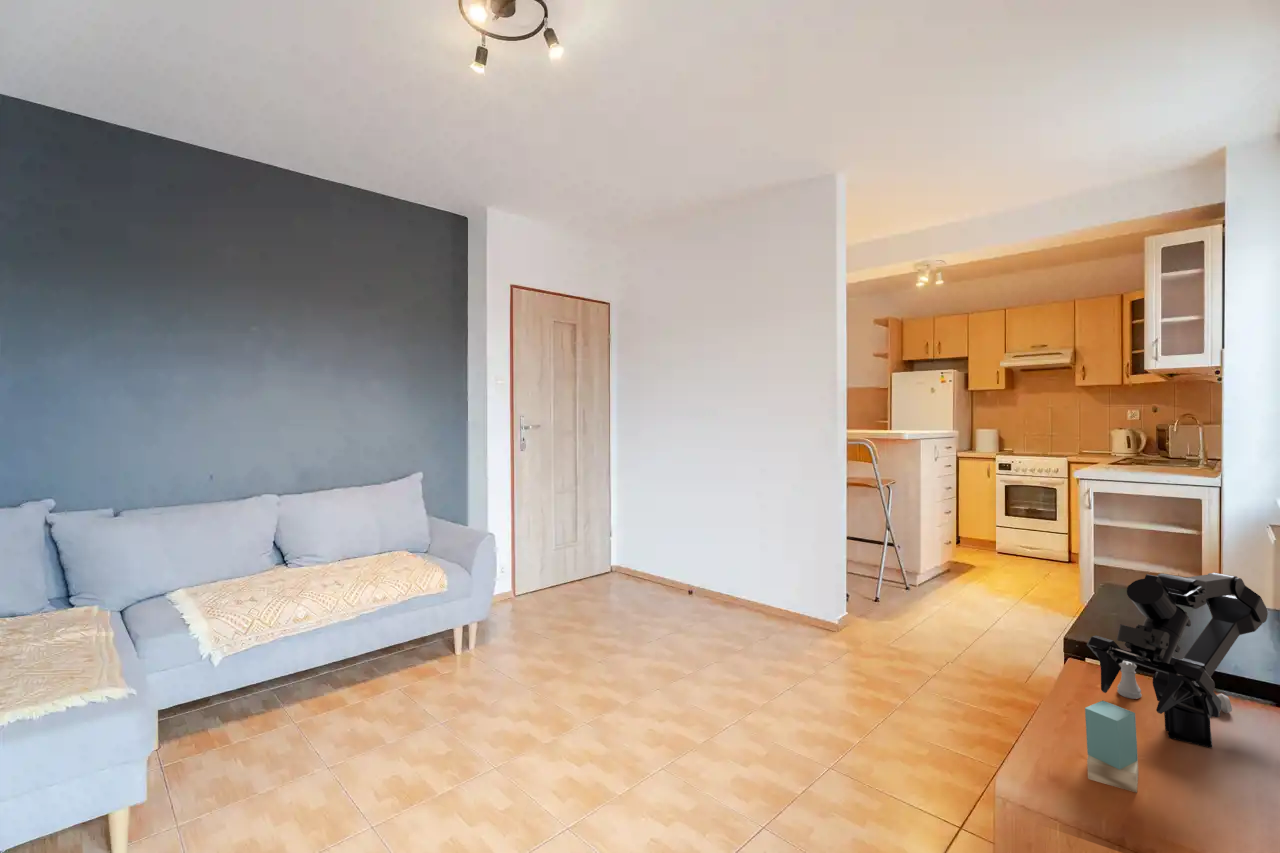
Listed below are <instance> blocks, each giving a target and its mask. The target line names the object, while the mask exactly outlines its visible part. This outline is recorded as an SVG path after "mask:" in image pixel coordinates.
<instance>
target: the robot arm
mask: <svg viewBox="0 0 1280 853" xmlns="http://www.w3.org/2000/svg"><path fill="white" fill-rule="evenodd" d="M1126 595H1127V597H1128V598H1129V600H1131V602H1132V603H1133V604H1134V605H1135V607H1136V608H1137V610H1138V611H1139V613H1141V615H1143V616H1144V617H1145V619H1144V621H1143V624H1138V625H1136V627H1133V626H1132V627H1131V626H1128V625H1125V624H1119V627H1118V631H1117V632H1118V633H1117V636H1116V637H1117V638H1116V641H1119V642H1122V643H1124V646H1125V647H1126V648H1127V649H1130V651H1129V650H1126V649H1122V648H1121V647H1120V646H1119V645H1118V643H1116V641H1114V640H1113V639H1108V638H1106V637H1102V636H1099V635H1097V634H1096V635H1093V636H1091V637H1089V639H1088V641H1087V643H1086V646H1087V647H1088V648H1089V650H1091V652H1092V653H1093V654H1094V655H1095V656H1096V657H1097V658H1098V660H1099V665H1100V689H1101V692H1102V693H1105V694H1106V693H1107V692H1108V691H1109V690H1110V688H1111V686H1112V685H1113V684H1114V681H1116V677H1117V676H1118V675H1119V673H1120V672H1121V671H1120V670H1121V669H1122V668H1121V666H1120V665H1119V664H1120V663H1122V662H1123V661H1124V660H1125V661H1128V662H1131V663H1135V665H1137V666H1141V667H1145V668H1147V669H1150V670H1154V671H1156V672H1155V673H1154V674H1153V677H1152V686H1153V690H1154V694H1155V697H1156V700H1157V702H1158V703H1157V707H1156V712H1157V713H1158V714H1160V715H1162V714H1164V716H1163V717H1164V730H1165V731H1166V732H1167V733H1168V734H1167V736H1168V738H1169V739H1171V740H1177V741H1181V742H1184V743H1189V744H1193V745H1197V746H1198V745H1199V746H1202V747H1206V748H1211V749H1212V748H1213V739H1212V738H1213V737H1212V732H1211V729H1212V728H1211V718H1220V717H1221V711H1222V710H1221V700H1220V699H1219V698H1218V696H1217V695H1218V694H1216V693H1215V688H1216V684H1215V681H1214V680H1213V679H1212V676H1213V675H1214V673H1215V672H1216V670H1217V668H1218V667H1219V666H1220V664H1221V662H1222V661H1223V660H1224V658H1225V657H1226V655H1227V654H1228V652H1229V651H1230V649H1231V648H1232V647H1233V645H1234V644H1235V642H1236V641H1237V640H1238V638H1239V637H1240V636H1242V635H1246V634H1250V633H1254V632H1256V631H1257V630H1258V629H1259V628H1260V627H1261V626H1262V625H1263V624H1264V623H1266V621H1267V619H1268V614H1269V612H1268V608H1267V606H1266V604H1265V602H1264V601H1263V598H1262V597H1261V596H1260V595H1259V594H1258V593H1256V592H1255V591H1254V590H1252V589H1251V588H1250V587H1248V586H1247V585H1246V583H1245V582H1244V580H1243V579H1242V578H1240V577H1238V576H1236V575H1231V574H1225V573H1218V572H1212V573H1211V572H1209V573H1207V574H1203V575H1201V574H1200V575H1194V576H1189V577H1185V576H1179V575H1173V574H1168V573H1159V574H1157V575H1152V574H1148V573H1146V574H1145V577H1144V578H1139V579H1137V580H1135V581H1132V582H1131V583H1130V584H1128V585H1127V588H1126ZM1205 605H1207V607H1208V609H1209V613H1210V615H1211V619H1210V620H1209V622H1208V623H1207V625H1205V627H1204V629H1202V631H1201V632H1200V634H1199V635H1198V637H1197V638H1196V640H1195V641H1194V642H1193V643H1192V645H1191V646H1190V648H1189V649H1188V650H1187V651H1186V653H1185V654H1184V655H1183V657H1182V659H1180V658H1176V657H1174V653H1179V652H1180V650H1181V647H1180V646H1179V645H1178V644H1179V642H1180V640H1181V638H1182V636H1183V633H1184V631H1185V629H1186V627H1191V626H1192V622H1191V619H1190V618H1189V616H1188V613H1187V612H1186V611H1184V609H1182V608H1181V607H1185V608H1190V609H1194V610H1197V609H1199V608H1201V607H1203V606H1205ZM1180 606H1181V607H1180Z"/></svg>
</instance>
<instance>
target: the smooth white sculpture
mask: <svg viewBox="0 0 1280 853" xmlns="http://www.w3.org/2000/svg"><path fill="white" fill-rule="evenodd" d="M1216 695H1217V696H1218V698H1219V699H1220V700H1221V710H1220V711H1222V712H1223V713H1225V714H1228V713H1231V712H1232V711H1233V708H1232V703H1231V699H1230V698H1229V696H1228V695H1225V694H1224V693H1218V694H1216Z"/></svg>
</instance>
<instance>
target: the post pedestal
mask: <svg viewBox="0 0 1280 853" xmlns="http://www.w3.org/2000/svg"><path fill="white" fill-rule="evenodd" d="M1086 760H1087V761H1086V762H1087V764H1086V765H1087V766H1086V768H1087V779H1088V780H1091V781H1094V782H1097V783H1100V784H1101V783H1102V784H1105V785H1108V786H1112V787H1115V788H1119V789H1121V790H1126V791H1129V792H1133V793H1136V794H1137V793H1138V784H1139V782H1138V781H1139V761H1136V762H1134V763H1132V764H1130V765H1128V766H1126V767H1124V768H1122V769H1120V770H1119V769H1117V768H1115V767H1113V766H1111V765H1109V764H1107V763H1105V762H1102V761H1100V760H1098V759H1096V758H1094V757H1092V756H1090V755H1088V754H1087V759H1086Z"/></svg>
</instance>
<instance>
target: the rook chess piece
mask: <svg viewBox="0 0 1280 853" xmlns="http://www.w3.org/2000/svg"><path fill="white" fill-rule="evenodd" d="M1118 665H1119V666H1120V667H1121V669H1120V671H1119V672H1121V676H1120V677H1121V678H1120V681H1119V683H1118V684H1117V689H1116V692H1117V693H1118V694H1119V695H1120V696H1121V697H1123V698H1126V699H1132V700H1138V699H1140V698H1141V697H1142V696H1143V694H1142V690H1141V688H1140V686H1139V684H1138V683H1137V680H1136V674H1137V672H1136V671H1135V670H1136V669H1137V667H1138V665H1137V664H1135V663H1131V662H1128V661H1125V660H1123V662H1122V663H1120V664H1118Z"/></svg>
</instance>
